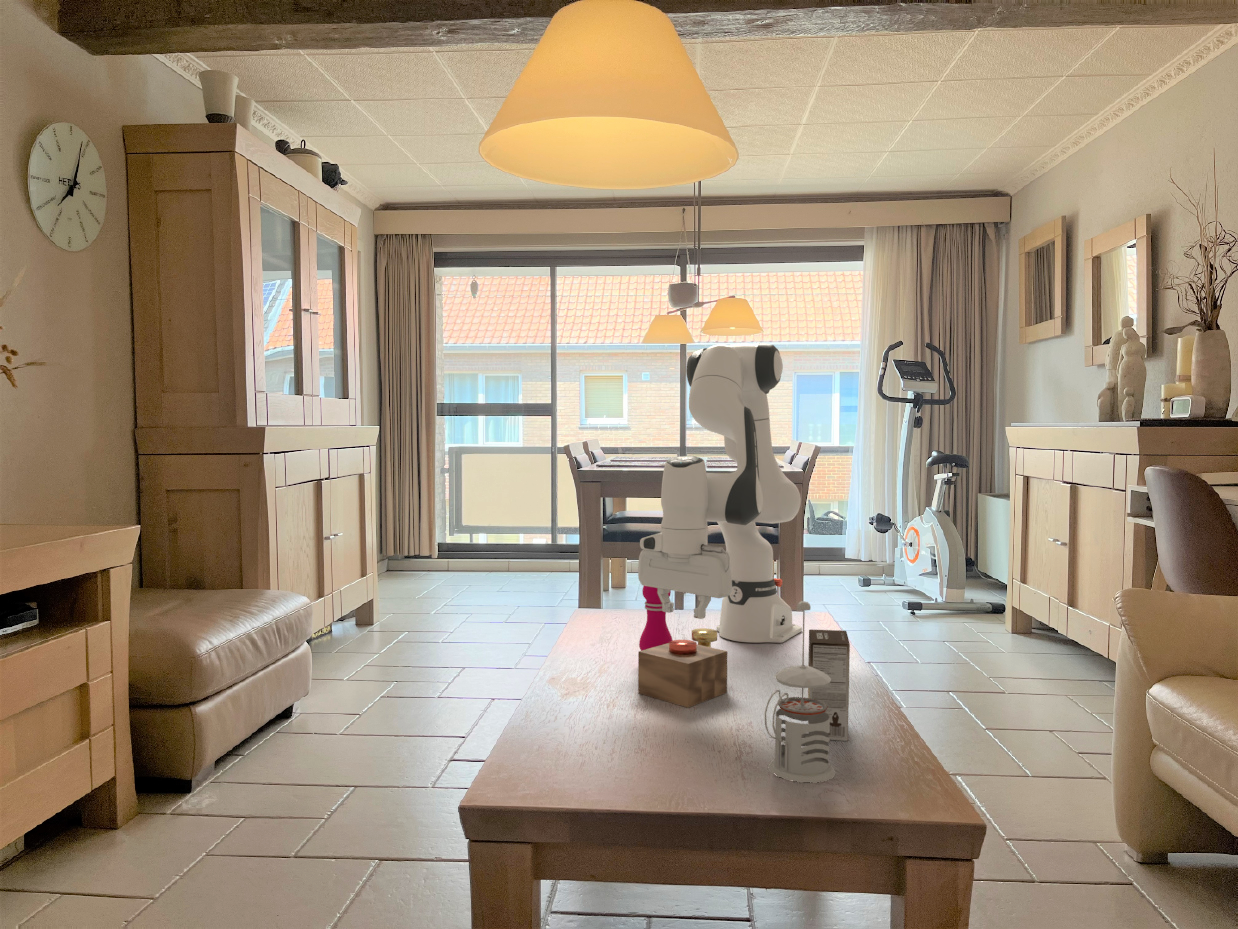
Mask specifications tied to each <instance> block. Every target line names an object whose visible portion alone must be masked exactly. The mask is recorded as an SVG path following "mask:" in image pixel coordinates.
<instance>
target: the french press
mask: <svg viewBox="0 0 1238 929" xmlns="http://www.w3.org/2000/svg"><path fill="white" fill-rule="evenodd" d="M796 610H799V611H802V654H801V655H802V659H801V660H802V661H801V662H802V663H801V664H802V665H801V664H800V665H791V666H789V667H786V668H783V669H781V670H779V671H778V672H777V673H776V674H775V675H774V677H775V679H776V681H777V682H778V683H779V684H782V685H783V686H787V687H791V688H797V689H798V688H801V697H800V696H791V697H790V696H789V694H788V693H787V692H784V693H783V694H782V695H781V690H780V689H777V690H775V691H774V692H773V693H772V694H771V695H770V697H769V699H768V700H767V703H766V706H765V710H764V728H765V730H766V732H767V734H768V735H769V736H770V738H772V739H773V740H775V741H774V758H773V759H772V760H771V761H770V762H771V763H770V762H769V764H768V765H767V768H768V767H769V768H768V770H769V772H770V773H771V774H773V773H775V774H776V775H777V776H778V778H779V777H782V778H784V779H783V780H785V779H787V780H786V781H788V780H793V781H797V782H796V783H799V782H810V783H809V784H818V783H817V782H819V783H823V782H824V781H825V782H828V781H830V780H832V779H833V778H834V777H835V775H836V774H837V771H836V770H835V768H834V766H832V764H830V761H829V759H830V753H829V751H830V744H829V743H830V740H829V735H828V733H829V732H830V717H829V715H828V714H827V713H826V712H825V711H826V709H827V705H826V704H825V703H824V702H821V701H820V700H816V699H815V700H814V699H812V698H811V699H810V698H808V697H804V689H808V688H817V687H823V686H826V685H828V684H829V683H830V681H831V678H830V677H829V676H828V675H827V674H825V673H824V672H822V671H820V670H817V669H815V668H813V667H810V666H808V665H807V666H806V665H804V664H805V616H806V614H805V613H806V611H811V604H810V603H809V601H803V600H802V601H799V602H798V604H797V609H796ZM777 693H778V697H779V698H778V700H777V702H776V703H775V706H774V709H773V713H772V726H771V727H772V729H773V730H772V731H773V734H774V736H773V735H771V733H770V731H769V728H768V725H767V724H768V723H767V722H768V721H767V711H768V708H769V704H770V703H771V702H770V701H771V700H772V699H773V696H774V695H775V694H777ZM785 696H786V697H785ZM778 707H779V709H778V710H777V708H778ZM780 716H784V717H787V718H789V719H792V720H796V721H800V722H808V721H809V723H800V722H793V721H790V720H786V719H782V718H781V717H780ZM782 725H785V727H782ZM782 733H783V734H785V735H782ZM835 773H836V774H835ZM777 776H776V777H777ZM782 778H781V779H782ZM829 779H830V780H829ZM827 780H828V781H827ZM793 781H792V782H793ZM820 781H821V782H820ZM811 782H813V783H811Z"/></svg>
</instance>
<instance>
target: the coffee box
mask: <svg viewBox="0 0 1238 929" xmlns="http://www.w3.org/2000/svg"><path fill="white" fill-rule="evenodd" d="M850 647H851V643H850V640H849V635H848V633H847V630H837V629H836V630H831V629H809V630H808V662H807V663H808V665H807V666H810V667H813V668H815V669H817V670H820V671H822V672H824V673H825V674H827V675H828V676H829V677H830V678H831V681H830V683H829V684H828V685H826V686H823V687H817V688H807V698H810V699H811V698H812V699H814V700H815V699H816V700H820V701H821V702H824V703H825V704H826V705H827V709H826V711H825V712H826V713H827V714H828V715H829V717H830V732H829V733H828V735H829V741H842V742H848V740H849V705H850V703H849V699H850V698H849V697H850V696H849V695H850V694H849V693H850V653H851V651H850V650H851V649H850ZM807 722H808V723H807V724H809V721H807Z"/></svg>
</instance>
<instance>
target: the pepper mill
mask: <svg viewBox="0 0 1238 929" xmlns="http://www.w3.org/2000/svg"><path fill="white" fill-rule="evenodd" d="M642 586H643V585H642ZM641 590H642V596H643V598H644V599H645V602H644V609H645V610H646V623H645V626H644V629H643V631H642V633H641V635H640V637H639V643H638V645H639V649H640V650H639V651H642V650H646V649H649V648H653V647H656V646H660V645H663V644H667V643H669V642H670V641H673V640H674V639H673V638H672V633H671V631H670V630H669V627H668V625H667V620H666V619H667V618H666V616H667V615H666V614H667V612H663V611H662V602H661V600H660V598H659V596H658V588H655V587H649V586H643V587H642V589H641ZM671 594H672V590H670V593H668V596H669V598H670V597H671Z"/></svg>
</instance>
